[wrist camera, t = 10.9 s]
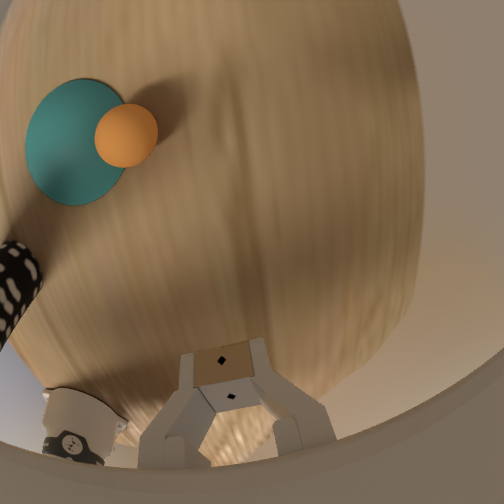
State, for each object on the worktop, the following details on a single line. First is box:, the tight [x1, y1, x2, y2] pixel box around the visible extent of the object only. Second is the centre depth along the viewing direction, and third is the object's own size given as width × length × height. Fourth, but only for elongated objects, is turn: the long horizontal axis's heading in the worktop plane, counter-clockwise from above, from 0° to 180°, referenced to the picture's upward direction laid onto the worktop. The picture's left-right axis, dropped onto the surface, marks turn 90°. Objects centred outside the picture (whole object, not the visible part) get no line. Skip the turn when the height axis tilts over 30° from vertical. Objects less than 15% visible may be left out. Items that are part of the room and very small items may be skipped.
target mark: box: [25, 80, 124, 205], centre depth 21 cm, size 13×13×1 cm
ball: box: [95, 104, 158, 168], centre depth 20 cm, size 6×6×6 cm
